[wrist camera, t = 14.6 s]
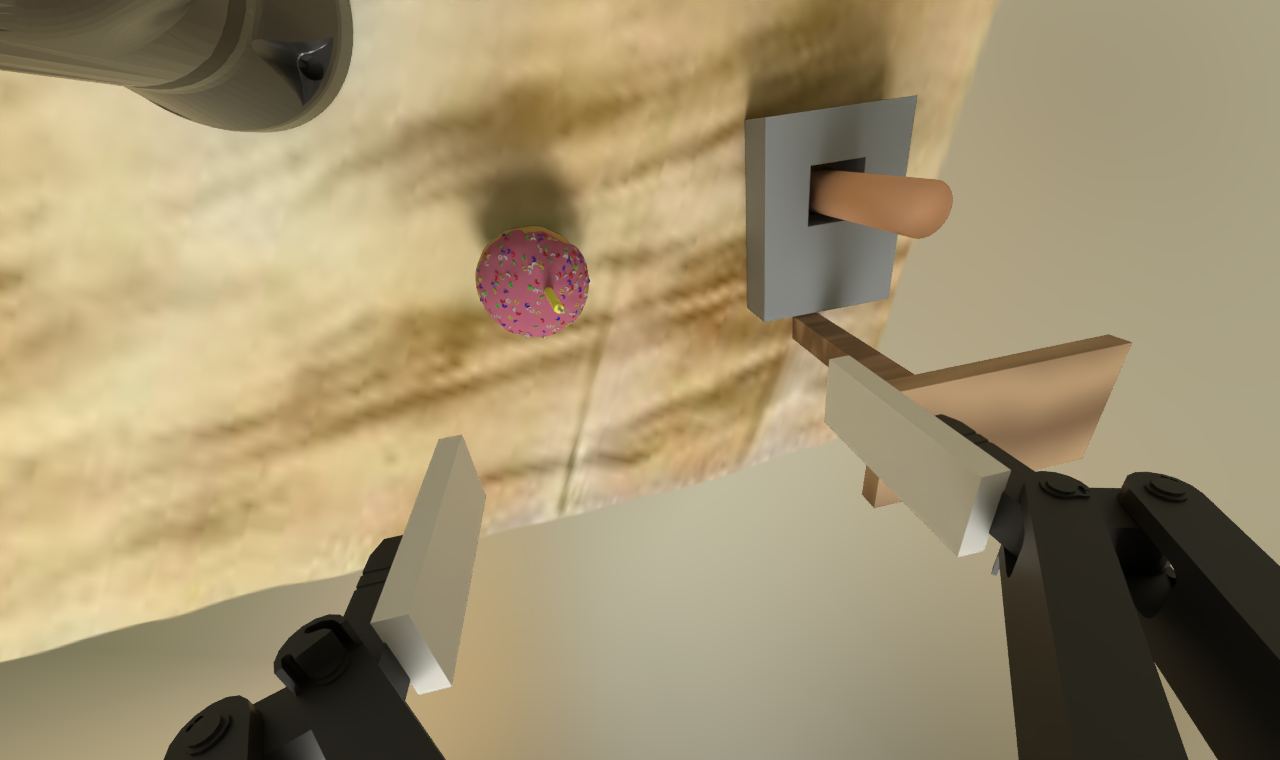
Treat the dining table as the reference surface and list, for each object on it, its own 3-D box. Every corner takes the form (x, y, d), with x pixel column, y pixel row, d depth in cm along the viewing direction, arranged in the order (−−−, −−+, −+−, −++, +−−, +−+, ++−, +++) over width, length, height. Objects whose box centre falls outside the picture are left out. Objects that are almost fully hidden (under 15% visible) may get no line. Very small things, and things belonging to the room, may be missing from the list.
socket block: (744, 120, 36) (765, 117, 33) (883, 99, 38) (917, 95, 34) (747, 308, 44) (764, 322, 41) (862, 286, 45) (888, 298, 42)
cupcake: (576, 211, 37) (586, 238, 27) (592, 309, 42) (607, 365, 31) (470, 226, 37) (438, 260, 26) (497, 324, 41) (479, 387, 30)
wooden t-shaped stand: (736, 279, 43) (893, 393, 23) (875, 254, 44) (1132, 342, 25) (738, 355, 46) (874, 507, 27) (866, 330, 48) (1082, 458, 28)
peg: (792, 212, 41) (896, 242, 28) (793, 171, 39) (905, 184, 27) (828, 206, 41) (946, 233, 29) (831, 165, 39) (957, 175, 27)
